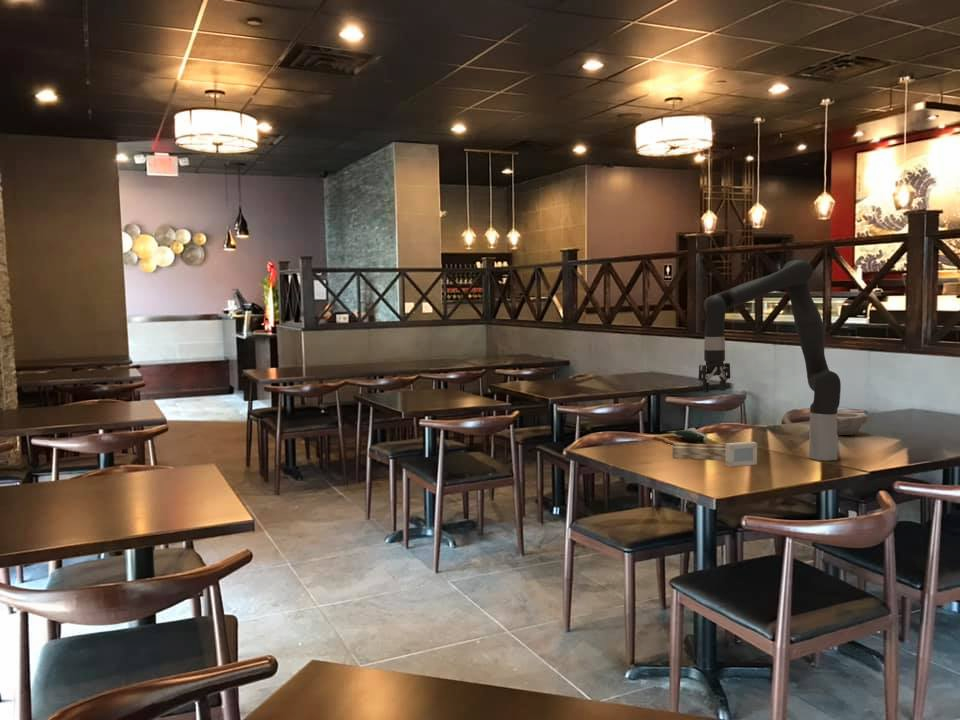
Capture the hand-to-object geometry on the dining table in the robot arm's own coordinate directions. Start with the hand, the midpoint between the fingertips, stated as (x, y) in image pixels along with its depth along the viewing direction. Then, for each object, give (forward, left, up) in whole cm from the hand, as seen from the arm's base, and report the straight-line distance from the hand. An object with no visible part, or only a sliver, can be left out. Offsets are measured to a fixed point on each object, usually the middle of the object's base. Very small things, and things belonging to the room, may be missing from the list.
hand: (714, 391), depth 283 cm
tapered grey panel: (-9, +12, -25) cm, 29 cm away
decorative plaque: (+9, -25, -26) cm, 37 cm away
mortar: (-56, -62, -25) cm, 87 cm away
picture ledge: (+1, +1, -25) cm, 25 cm away
